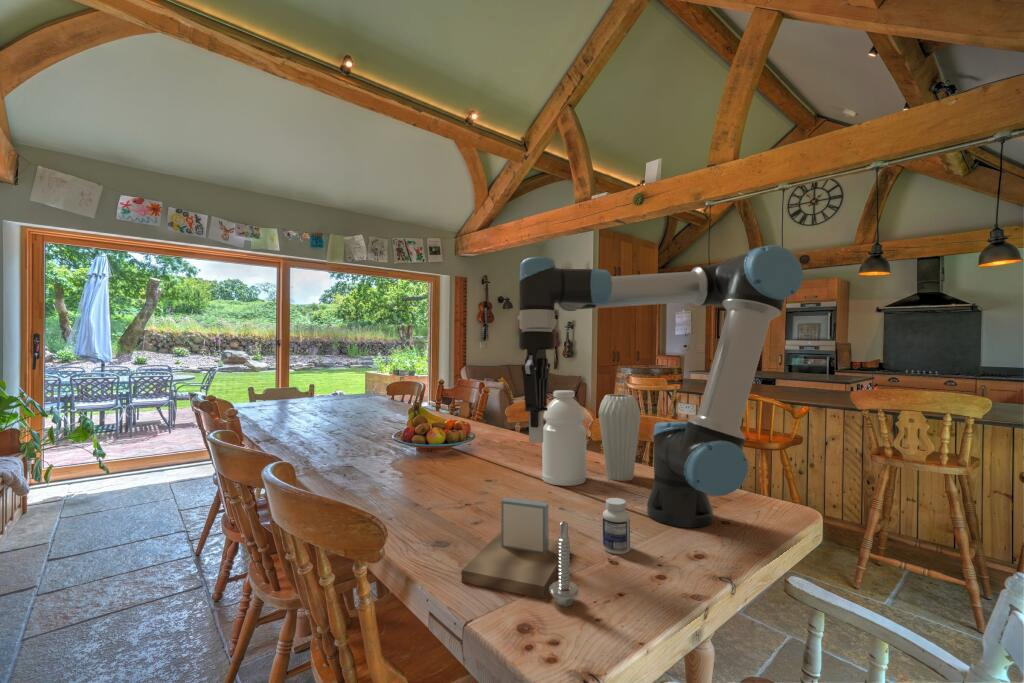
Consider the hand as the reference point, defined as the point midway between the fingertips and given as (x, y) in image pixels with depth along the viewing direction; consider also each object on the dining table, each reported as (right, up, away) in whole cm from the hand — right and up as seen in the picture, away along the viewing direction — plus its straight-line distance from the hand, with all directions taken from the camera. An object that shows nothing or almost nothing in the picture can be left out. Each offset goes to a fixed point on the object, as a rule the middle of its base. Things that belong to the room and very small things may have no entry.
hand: (536, 442), depth 94 cm
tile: (-3, -19, -8) cm, 21 cm away
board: (-4, -21, -11) cm, 24 cm away
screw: (+3, -21, -23) cm, 31 cm away
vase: (+29, -23, +48) cm, 61 cm away
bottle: (+11, -23, +46) cm, 52 cm away
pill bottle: (+16, -21, -3) cm, 27 cm away
